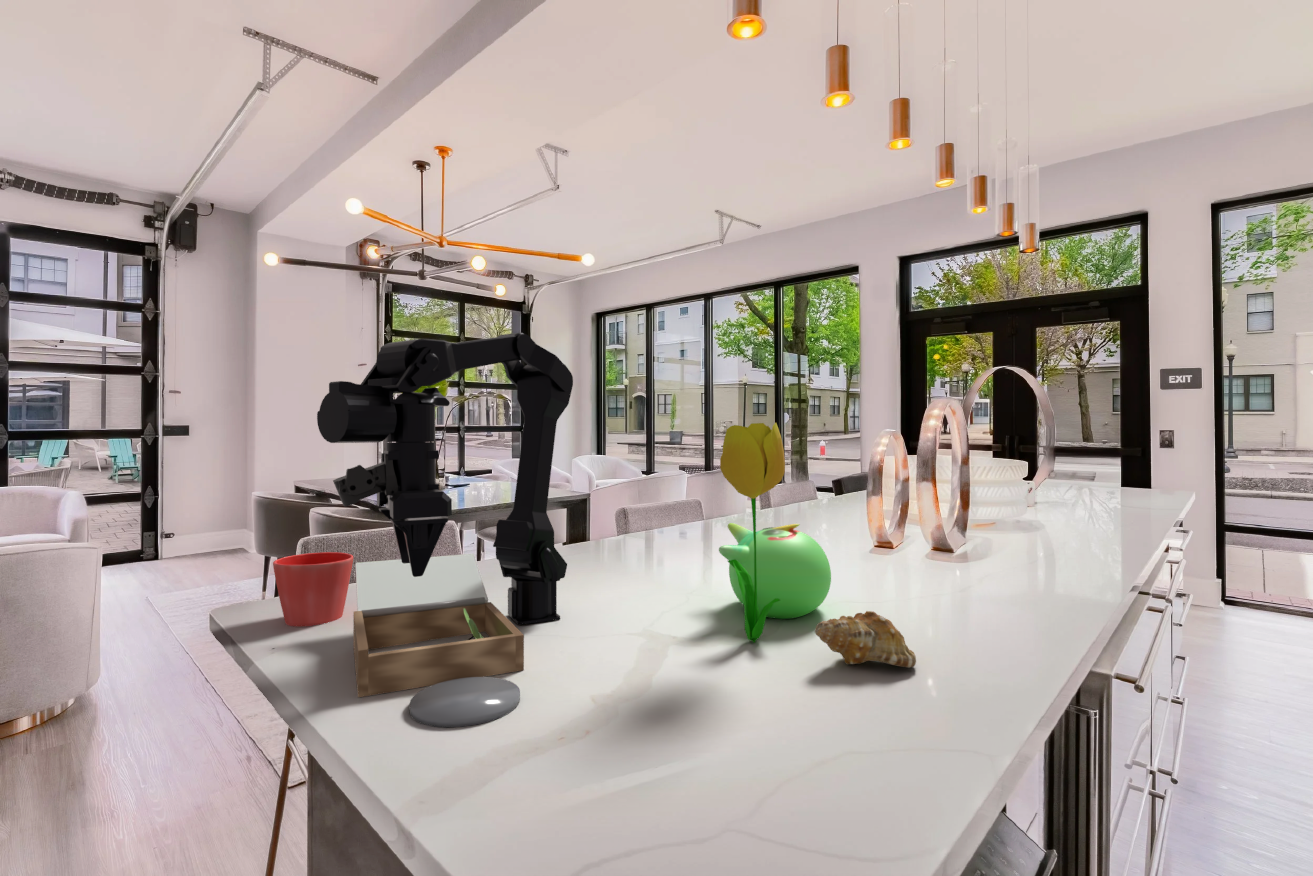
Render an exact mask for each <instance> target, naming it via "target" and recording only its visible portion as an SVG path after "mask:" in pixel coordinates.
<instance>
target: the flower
mask: <svg viewBox="0 0 1313 876" xmlns="http://www.w3.org/2000/svg"><path fill="white" fill-rule="evenodd" d="M719 461H720V463H719V464H720V465H719V466H720V468H719V469H720V472H721V474H722V475H723V476H722V477H724V478H725V479H726V481H727V482H728V483H729V484H730V485H731V486H732V487H733V488H734V489H735V490H736V492H737V493H738V494H741V495H742V496H745V497H748V498H750V501H751V513H752V531H753V534H754V585H753V582H752V579H751V576H750V575H749V574H748V572H747V571H746V570H745V569H744V567H743V566H742V565H741V564H740V563H739V562H738V561H737V560H736V559H735V560H727V562H728V564H731V565H732V566H733V567H734V568H735V570H736V573H737V576H738V582H739V586H740V589H741V592H742V596H743V600H744V605H743V607H744V608H743V609H744V632H745V634H746V637H747V638H746V639H747V640H748V641H751V642H753V644H754V643H756V642H757V640H758V639H760V638H761V636H762V634H763V631H764V628H765V624H766V619H767V618H768V617H767V614H768V612H769V610H770V608H771V607H772V606H773V604H774V603H775V602H778V601H780V599H778V598H777V599H776V598H775V599H774V600H772V601H771V602H770V603H768V604H767V605H766V606H764V608H763V609H762V611H761V613H760V612H759V609H758V605H757V571H756V532H757V518H756V517H757V511H756V510H757V509H756V508H757V505H756V504H757V498H758V497H759V496H761V495H763V494H765V493H766V492H769V491H771V490H772V489H774V488H776V486H777V485H778V484H780V482H782V481H783V480H782V479H783V477H784V475H785V472H786V471H785V470H786V459H785V449H784V444H783V439H782V435H781V433H780V429H779V427H778V424H777V422H774V424H773V425H772V428H771V427H769V425H766V424H765V423H764V422H757V423H750V425H748V426H747V427H746V426H743V425H736V424H733V425H731V426H729V427H727V428H726V432H725V434H724V439H723V444H722V454H721V456H720V459H719Z"/></svg>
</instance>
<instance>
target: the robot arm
mask: <svg viewBox="0 0 1313 876" xmlns="http://www.w3.org/2000/svg"><path fill="white" fill-rule="evenodd" d="M521 361H523V362H524V364H526V365H524V364H523V363H522V362H521ZM500 363H501V364H502V365H503V368H504V372H505V375H506V378H507V379H508V380H509V381H510V382H511V383H512V384H513V385H515V387H516V399H517V402H518V405H519V407H520V410H521V411H522V414H523V417H524V418H523V419H524V421H523V426H522V428H523V429H522V435H521V445H520V453H519V461H518V467H517V468H518V469H517V476H516V483H515V484H516V485H515V493H514V502H513V507H512V511H511V512H510V513H509V514H508V516H507V518H506V519H498V520H497V523H496V528H495V529H496V531H495V532H496V533H495V534H496V535H495V538H494V543H493V544H492V546H493V548H495V559H496V560H498V562H499V566H500V570H501V572H502V577H503V578H511V581H510V582H511V584H510V587H508V588H507V615H508V617H510V619H511V620H513V621H514V623H516V624H517V625H519V626H520V625H528V624H529V625H530V624H534V623H535V624H536V623H545V622H551V621H557V620H561V615H560V614H559V613H557V612H558V611H557V603H558V602H557V589H558V588H557V585H558V584H557V582H559V581H561V580H562V579H565V577H566V573H567V567H568V563H567V562H566V561H565V559H564V558H563V556H562V555H561V554H560V552H559V551H558V550H557V549H556V548H555V530H554V527H553V525H552V522H551V520H550V518H549V515H548V512H547V510H548V509H547V508H548V502H549V493H550V482H551V474H552V473H551V472H552V465H553V457H554V448H555V441H556V432H557V423H558V420H559V418H560V417H561V416H562V414H563V412H564V411H565V410H566V408H567V407H568V405H569V403H570V399H571V396H572V395H571V394H572V391H573V386H574V377H573V374H572V372H571V371H570V369H569V368H568V366H567V365H566V364H564V363H563V362H562V361H561V359H560V358H559V357H558V356H557V355H556V354H554V353H553V352H551V351H549V350H547V349H545V348H544V347H542V346H541V345H539V344H537V343H536V342H535V341H534V340H533V339H532V338H531V337H530V336H529V335H528V334H526V333H523V332H515V333H507V334H506V333H505V334H500V335H498V336H496V337H489V338H482V339H475V340H467V341H459V342H451V341H447V340H443V339H435V338H432V339H431V338H417V339H409V340H401V341H399V340H398V341H393V342H388V343H385V344H383V345H382V346H380V350H379V351H378V354H377V357H376V362H375V363H374V365H373V366H372V368H370V371H369V372H368V373H367V375H366V376H365V378H364V379H363V380H362V382H361V383H359V384H358V383H355V382H352V381H344V380H339V381H338V380H337V381H330V382H329V383H328V388H329V389H328V392H327V393H326V394H325V396H324V397H323V398H322V400H321V403H320V406H319V411H317V413H316V421H317V427H318V428H317V429H318V430H319V433H320V436H321V437H322V438H323V440H325V441H326V442H328V443H330V444H354V443H355V444H358V443H359V444H360V443H361V444H364V443H365V444H366V443H367V444H368V443H371V444H372V443H381V442H384V441H385V450H383V453H381V454H380V463H377V464H375V465H372V466H371V465H370V466H369V467H363V465H361V464H358V465H355V466H354V467H350V468H347V469H346V471H345V475H343V476H340V477H337V478H335V479H333V480H332V481H333V484H334V487H335V489H336V491H337V494H338V496H339V498H340V501H341V503H342V505H343V507H349V506H353V505H355V504H357V503H358V502H359V501H361V500H364V499H365V498H368V497H371V496H373V495H376V505H377V507H381V508H378V510H379V512H381V513H382V514H383V515H384V516H385V517H386V518H387V519H388V520H390V521H391V523H392V529H393V531H394V537H395V540H396V543H397V548H398V552H399V555H400V556H399V557H400V559H401V561H402V563H404V564H405V563H410V566H411V571H412V575H413V576H414V577H419V576H422V575H423V574H424V572H425V569H426V567H427V565H428V562H429V560H430V558H431V557H432V555H433V554H434V553H433V552H434V550H435V548H436V547H437V543H438V541H439V539H440V537H441V535H442V533H443V531H444V529H445V527H446V525H447V523H448V522H449V520H450V519H449V516H452V515H453V509H452V508H453V507H452V506H453V505H452V504H453V502H452V501H453V500H452V498H451V497H450V496H449V495H448V494H447V493H445V492H444V491H443V490H440V485H439V483H437V482H436V481H437V480H436V479H437V478H436V476H437V473H436V472H437V471H436V467H437V466H436V460H438V459H439V457H440V456H439V455H440V452H439V451H440V450H437V449H436V407H448V406H450V404H451V403H450V400H449V399H447V397H446V396H444V395H443V394H442V393H441V392H440V390H439V389H438V388H437V387H431V386H433V385H436V384H439V383H440V382H444V381H445V380H448V379H449V378H451V377H453V376H454V375H455V374H456V373H458V372H461V371H463V370H469V369H474V368H479V367H484V366H491V365H496V364H500ZM422 387H426V388H423V390H422V391H421V392H416V391H418V390H419V389H420V388H422ZM394 394H398V396H396V398H394ZM384 506H385V507H384Z"/></svg>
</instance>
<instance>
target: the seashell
mask: <svg viewBox="0 0 1313 876" xmlns="http://www.w3.org/2000/svg"><path fill="white" fill-rule="evenodd" d="M814 633H815V635H816V636H817V637H818V638H819V639H820V640H821V641H822V643H825V644H826V645H827V647H828V648H829V649H830V650H831V651H832V652H834V653H838V654H840V655H841V657H842V658H843V659H844V663H845V664H846V665H855V664H859V665H860V664H863V663H865V662H868V661H873V662H879V663H884V664H887V665H892V666H897V667H903V668H913V667H915V666H916V665H917V664H916V663H917V657H916V654H915V652H914V651H913V650H911V649H910V648H909V647H908V645H907V643H906V641H905V637H904V636H903V634H902V632H900V630H899V629H897V628H896V626H895V625H894V624H893V622H892V621H891V620H890V619H889V618H886V617H884V616H882V615H880V614H877V613H876V612H875V611H872V610H866V611H865V612H864V613H862V612H857V613H856V614H855V615H854V616H852V615H848V616H845V615H841V616H839V618H838V619H836V618H830V619H828V620H823V621H821V622H818V623H817V624H816V626H815V629H814Z"/></svg>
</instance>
